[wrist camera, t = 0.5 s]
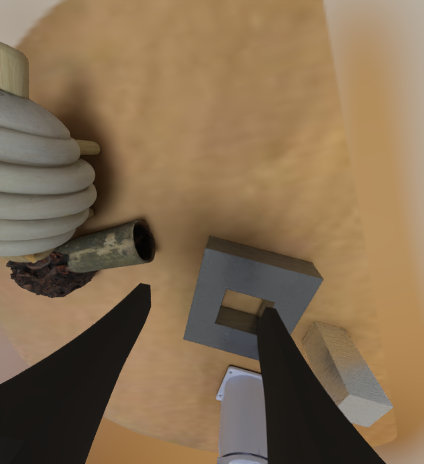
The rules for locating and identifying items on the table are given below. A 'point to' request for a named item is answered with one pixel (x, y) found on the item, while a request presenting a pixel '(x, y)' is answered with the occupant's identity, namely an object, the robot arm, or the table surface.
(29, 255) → the toy sheep
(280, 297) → the grey slab with hole
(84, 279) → the tube with rough end
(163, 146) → the table surface
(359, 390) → the grey wooden block
